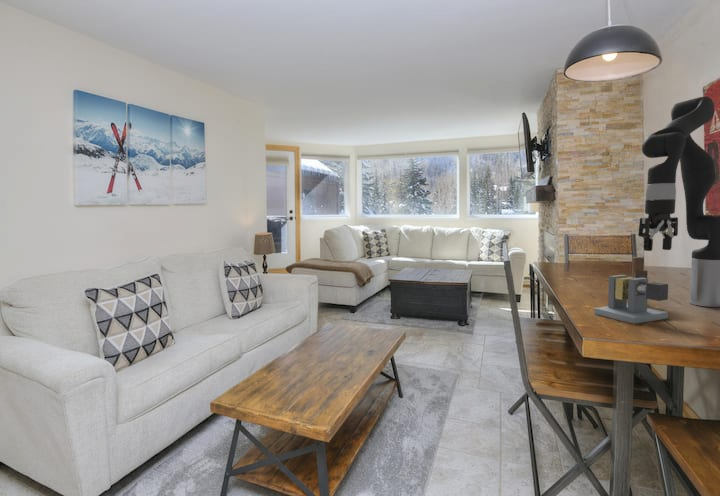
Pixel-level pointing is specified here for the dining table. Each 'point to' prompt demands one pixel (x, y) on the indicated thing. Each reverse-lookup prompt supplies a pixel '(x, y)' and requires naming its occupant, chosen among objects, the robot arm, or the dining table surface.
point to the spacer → (622, 288)
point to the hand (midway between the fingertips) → (657, 250)
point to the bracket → (629, 304)
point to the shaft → (653, 290)
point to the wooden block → (638, 268)
